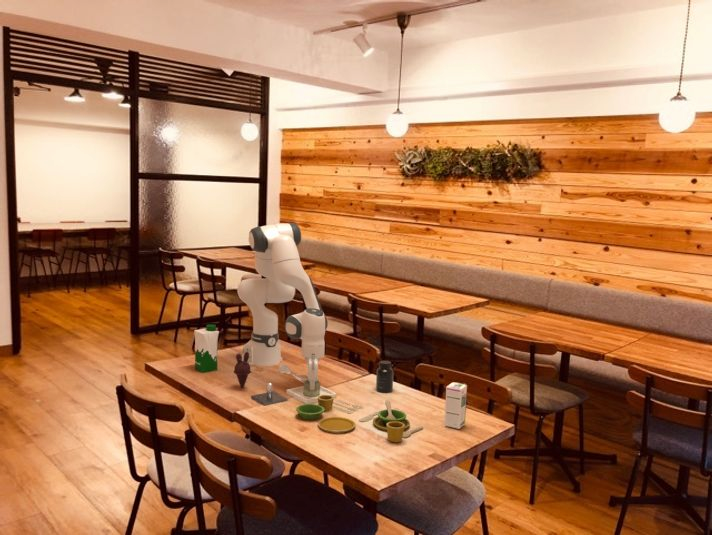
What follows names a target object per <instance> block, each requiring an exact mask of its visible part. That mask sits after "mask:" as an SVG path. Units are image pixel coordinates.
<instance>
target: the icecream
mask: <svg viewBox="0 0 712 535" xmlns="http://www.w3.org/2000/svg"><path fill="white" fill-rule="evenodd" d="M241 354H242V353H239V352H238V353H237V354H236V355H235V359H236V362H237V363H235V364H234V365H235V366H234V368H233V370H234V371H233V373H234V374H235V375H236V377H237V381H238V383H239V387H240V389H244V387H245V385H246V382H247V379H248V376H249V375H250V374H251V373H252V371H251V365H249V363H248V362H247V361H248V359H249V353H248V352H246V353H245V354H244V361H242V356H241Z"/></svg>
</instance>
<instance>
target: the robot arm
mask: <svg viewBox="0 0 712 535" xmlns="http://www.w3.org/2000/svg"><path fill="white" fill-rule="evenodd" d="M301 241H302V231H301V228H300V227H299V225H298V224H297V223H293V222H287V223H285V222H284V223H283V222H282V223H281V222H279V223H273V224H266V225H262V226H255V227H253V228H251V229H250V230H249V234H248V243H249V246H250V248H251V250H253V251H254V268H255V271H256V272H257V273H258V274H259V275H261V276H262V277H263V278H255V277H253V278H252V277H251V278H247V279H242V280H241V281H240V282H239V283H238V286H237V290H236V292H237V296H238V297H239V299H240V300H241V302H243V303H245V304H246V305H247V307H248V308H249V309H250V312H251V315H252V321H253V322H252V323H253V324H252V325H253V327H252V330H253V331H251V332H250V335H251V336H250V337H251V338H250V340H249V341H248V342H246V343H245V344H244V345H243V348H242V353H240V354H241V356H242V361H244V354H245V353H246V352H248V353H249V359H248V361H247V362H248V363H249V365H250V366H258V367H270V366H271V367H272V366H276V365H279V364H280V363H281V361H282V360H283V357H282V356H281V353H282V352H281V343H280V341H279V331H278V330H279V329H278V328H279V317H278V314H277V313H276V312H275V311H273V310H271V309H269V308H267V307H266V306H265V304H266V303H267V304H268V303H269V304H273V303H274V304H283V303H288V302H291V301H292V300H293V299H294V297H295V295H296V290H297V291H299V292H300V293H301V295H302V298H303V301H304V304H305V307H306V309H304V311H302V312H299V313H297V314H292V315H289V316H288V317H287V318H286V320H285V322H284V330H285V334H286V335H287V336H288V337H289V338H290V339H294V340H297V339H298V340H299V339H300V340H301V356H302V357H304V361H306V368H307V375H308V378H307V380H308V381H310V390H314V389H315V381H317V380H318V378H319V362H320V361H321V359H322V358H323V357H325V346H326V344H325V334H326V331H327V328H328V325H329V324H328V319H327V316H326V314H325V313H324V311H323V308H322V306H321V302H320V300H319V297H318V295H317V291H316V288H315V285H314V283H313V281H312V278H311V276H310V275H309V274H308V273H307V272H306V271H305V270H304V267H303V265H302V263H301V258H300V254H299V250H298V246H299V245H300V244H301ZM318 381H319V380H318Z"/></svg>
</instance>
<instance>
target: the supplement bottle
mask: <svg viewBox="0 0 712 535" xmlns="http://www.w3.org/2000/svg"><path fill="white" fill-rule="evenodd" d="M378 365H379V367H378V368H377V369H376V378H375V381H376V382H375V383H376V384H375V389H376V391H377V392H379V393H382V394H390V393H392V392H393V390H394V389H393V388H394V369H393V368H392V362H391V361H389V360H380V361H379V364H378Z"/></svg>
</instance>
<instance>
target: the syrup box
mask: <svg viewBox="0 0 712 535" xmlns="http://www.w3.org/2000/svg"><path fill="white" fill-rule="evenodd" d="M467 390H468V385H467V384H464V383H461V382H451V383H450V384H448V385H447V386H446V389H445V405H444V406H445V410H444V411H445V413H444V426H446V427H449V428H453V429H457V430H460V429H461V428H462V427H463V426H464V425H465V424H466V413H467V412H466V411H467V394H468V392H467Z"/></svg>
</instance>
